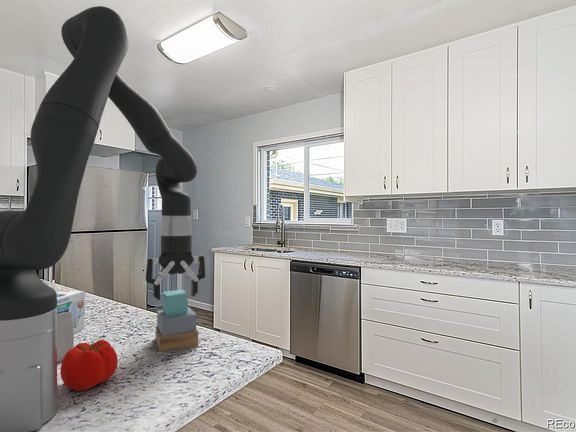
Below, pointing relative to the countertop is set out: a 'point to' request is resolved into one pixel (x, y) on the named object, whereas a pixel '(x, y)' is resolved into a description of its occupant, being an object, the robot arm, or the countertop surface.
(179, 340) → the base block
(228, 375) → the countertop surface
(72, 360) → the tomato
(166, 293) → the teal cube
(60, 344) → the white cardboard box
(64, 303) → the light bulb box
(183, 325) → the top block
